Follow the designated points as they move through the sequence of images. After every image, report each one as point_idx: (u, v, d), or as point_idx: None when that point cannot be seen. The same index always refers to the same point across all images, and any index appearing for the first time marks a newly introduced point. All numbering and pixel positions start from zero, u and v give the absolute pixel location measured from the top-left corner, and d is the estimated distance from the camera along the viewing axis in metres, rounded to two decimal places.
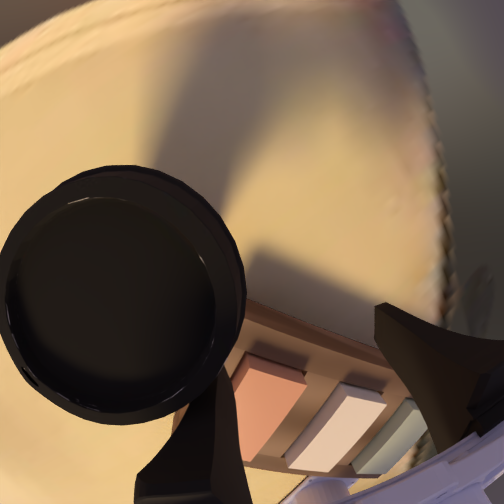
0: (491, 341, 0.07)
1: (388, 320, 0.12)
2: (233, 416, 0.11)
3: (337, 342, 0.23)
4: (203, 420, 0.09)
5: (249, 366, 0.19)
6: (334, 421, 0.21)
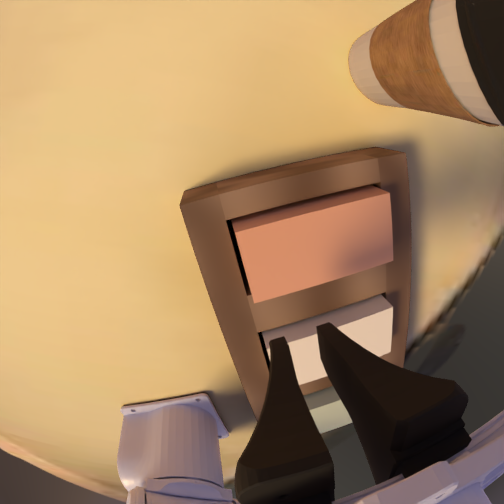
0: (427, 378, 0.07)
1: (326, 343, 0.12)
2: None
3: None
4: (291, 399, 0.09)
5: (388, 192, 0.16)
6: (360, 325, 0.20)
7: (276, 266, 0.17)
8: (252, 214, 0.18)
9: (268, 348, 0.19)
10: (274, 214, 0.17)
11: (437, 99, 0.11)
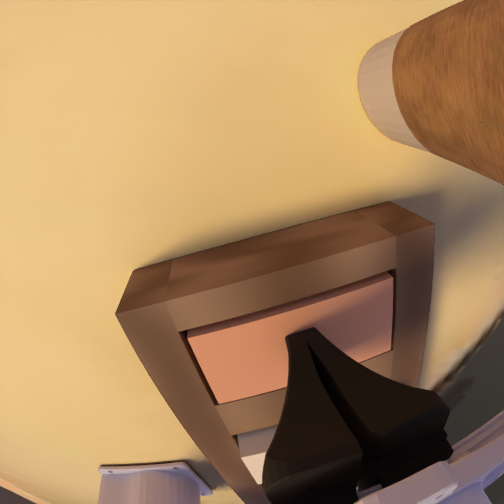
0: (408, 388, 0.07)
1: (309, 348, 0.12)
2: None
3: None
4: (313, 392, 0.09)
5: (391, 276, 0.13)
6: None
7: (242, 370, 0.13)
8: None
9: (242, 457, 0.14)
10: None
11: (503, 171, 0.06)
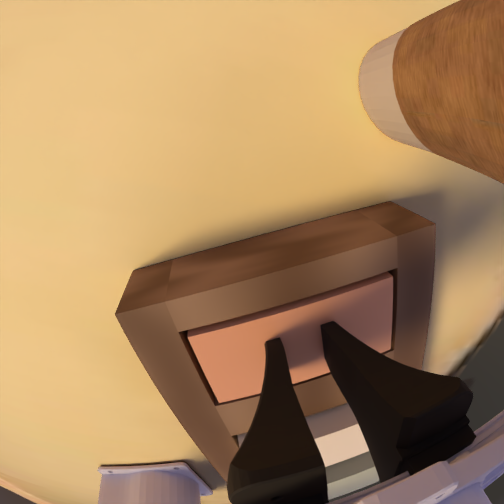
0: (432, 376, 0.07)
1: (330, 341, 0.12)
2: None
3: None
4: (285, 401, 0.09)
5: (391, 275, 0.13)
6: (355, 429, 0.15)
7: (242, 369, 0.13)
8: None
9: None
10: None
11: None
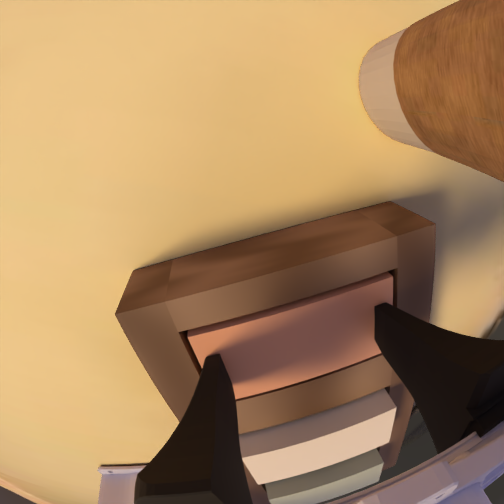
0: (491, 341, 0.07)
1: (388, 320, 0.12)
2: (233, 416, 0.11)
3: None
4: (203, 420, 0.09)
5: (391, 275, 0.13)
6: (355, 429, 0.15)
7: (242, 369, 0.13)
8: None
9: (243, 457, 0.14)
10: None
11: None
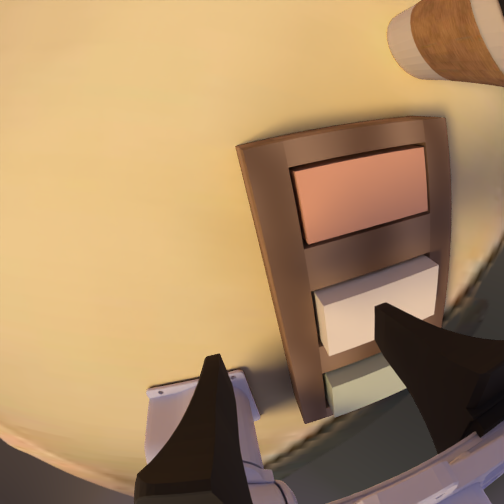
0: (491, 341, 0.07)
1: (388, 320, 0.12)
2: (233, 416, 0.11)
3: None
4: (203, 420, 0.09)
5: (422, 147, 0.17)
6: (410, 282, 0.19)
7: (329, 206, 0.18)
8: None
9: (325, 305, 0.19)
10: (325, 160, 0.18)
11: (477, 63, 0.11)
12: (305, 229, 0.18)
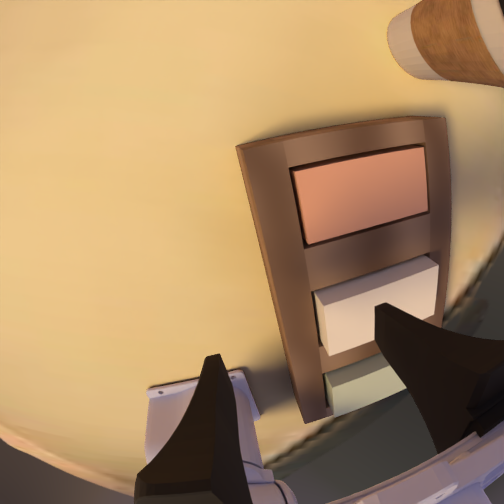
0: (491, 341, 0.07)
1: (388, 320, 0.12)
2: (233, 416, 0.11)
3: None
4: (203, 420, 0.09)
5: (422, 147, 0.17)
6: (410, 282, 0.19)
7: (329, 206, 0.18)
8: None
9: (325, 305, 0.19)
10: (325, 160, 0.18)
11: (477, 64, 0.11)
12: (305, 229, 0.18)
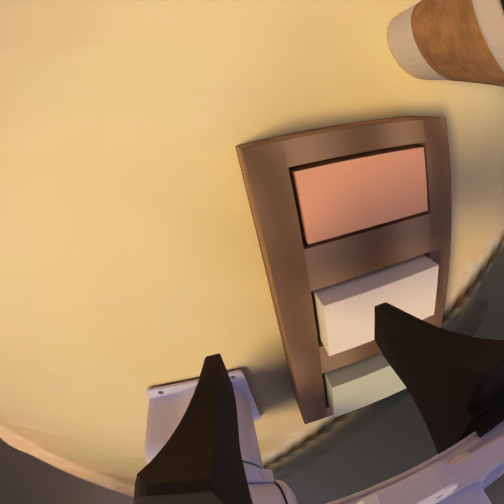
0: (491, 341, 0.07)
1: (388, 320, 0.12)
2: (233, 416, 0.11)
3: None
4: (203, 420, 0.09)
5: (422, 147, 0.17)
6: (410, 282, 0.19)
7: (329, 206, 0.18)
8: None
9: (325, 305, 0.19)
10: (325, 160, 0.18)
11: (478, 63, 0.11)
12: (305, 229, 0.18)
